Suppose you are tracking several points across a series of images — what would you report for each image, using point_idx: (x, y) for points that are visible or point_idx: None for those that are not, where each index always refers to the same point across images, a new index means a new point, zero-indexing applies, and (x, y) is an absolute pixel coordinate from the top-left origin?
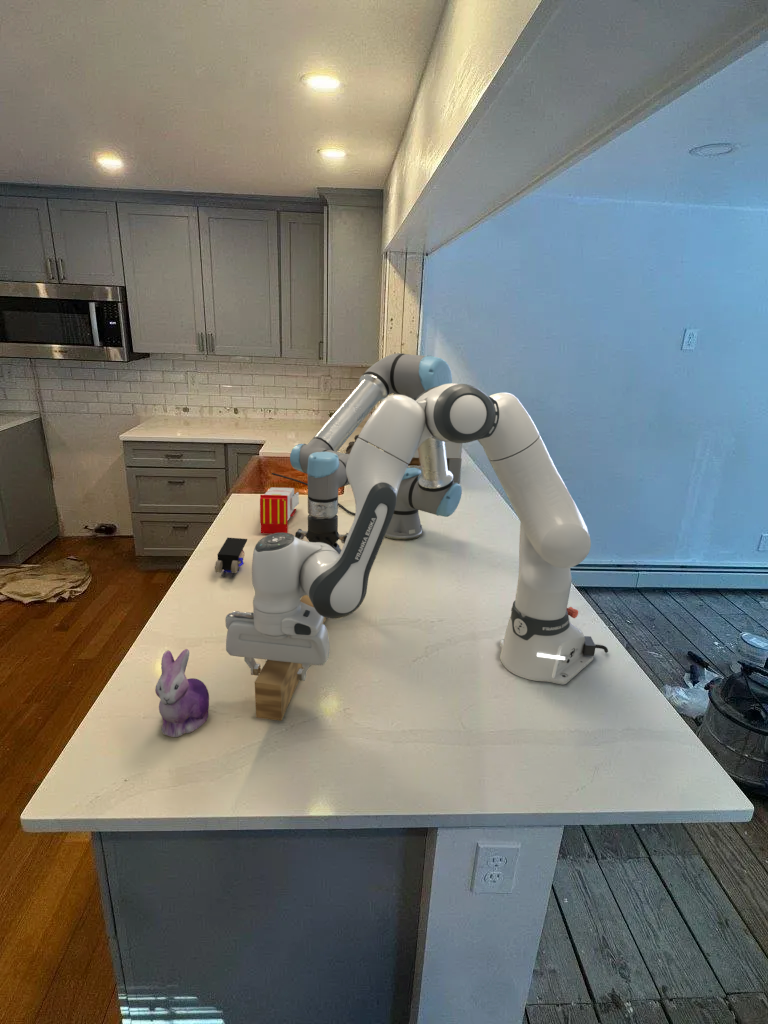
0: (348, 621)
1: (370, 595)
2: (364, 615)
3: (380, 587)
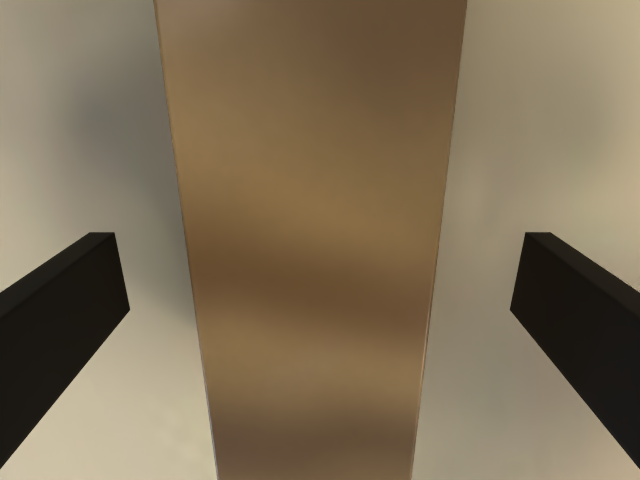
0: (78, 41)
1: (76, 379)
2: (8, 149)
3: (59, 459)
